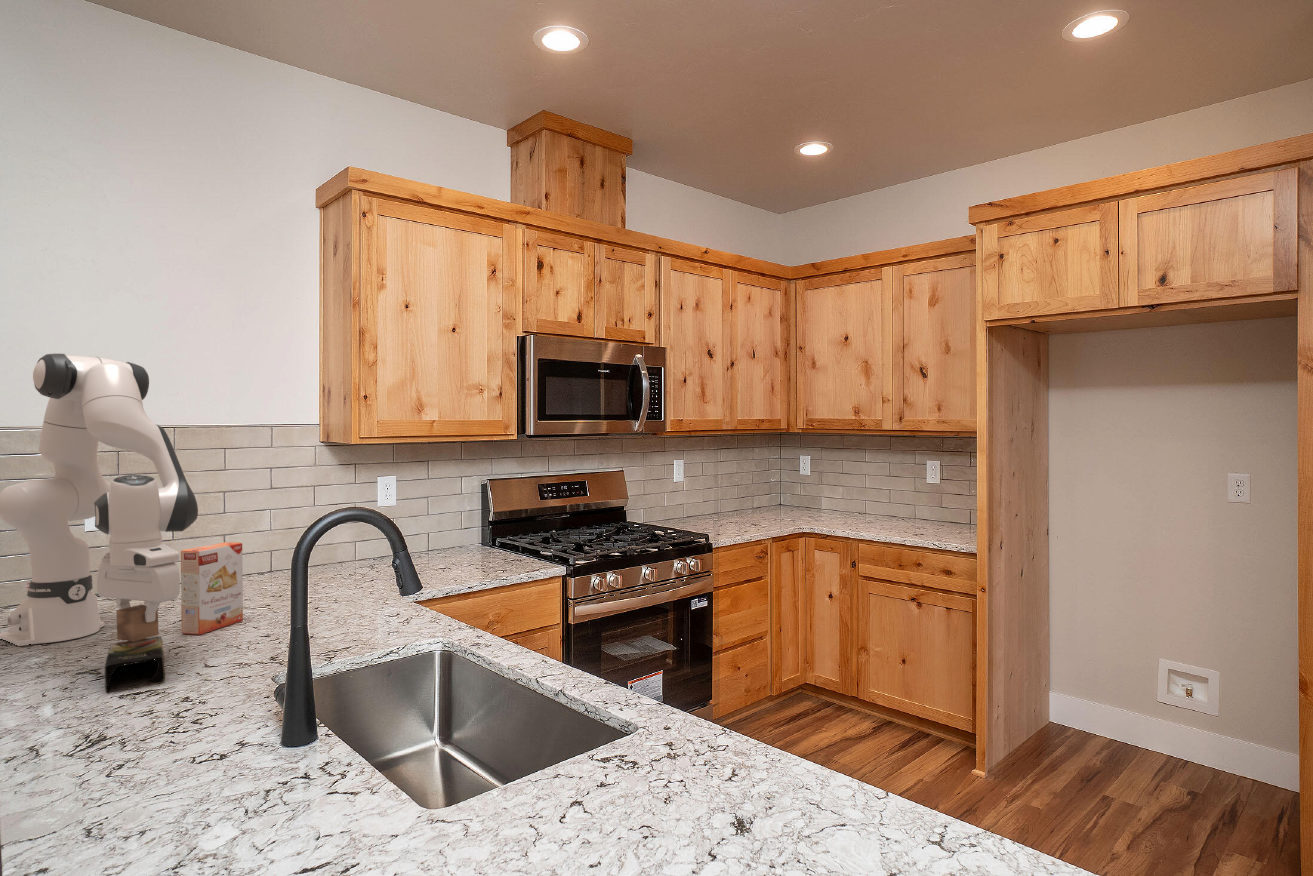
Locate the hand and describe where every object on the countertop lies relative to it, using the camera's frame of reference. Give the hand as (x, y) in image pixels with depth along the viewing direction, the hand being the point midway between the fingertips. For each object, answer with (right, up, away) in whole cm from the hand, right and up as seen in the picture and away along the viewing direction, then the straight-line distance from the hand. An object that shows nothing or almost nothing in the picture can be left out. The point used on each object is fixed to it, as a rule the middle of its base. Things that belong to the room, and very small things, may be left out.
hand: (138, 620), depth 149 cm
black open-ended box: (0, -11, -1) cm, 11 cm away
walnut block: (0, -3, 0) cm, 3 cm away
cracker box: (-5, -11, +34) cm, 36 cm away
